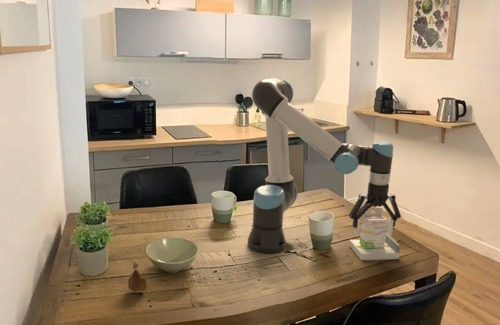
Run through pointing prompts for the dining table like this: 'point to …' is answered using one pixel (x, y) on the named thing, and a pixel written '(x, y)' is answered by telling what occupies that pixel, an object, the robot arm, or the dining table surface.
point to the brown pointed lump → (137, 280)
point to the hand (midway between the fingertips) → (372, 234)
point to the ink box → (373, 229)
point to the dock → (377, 250)
